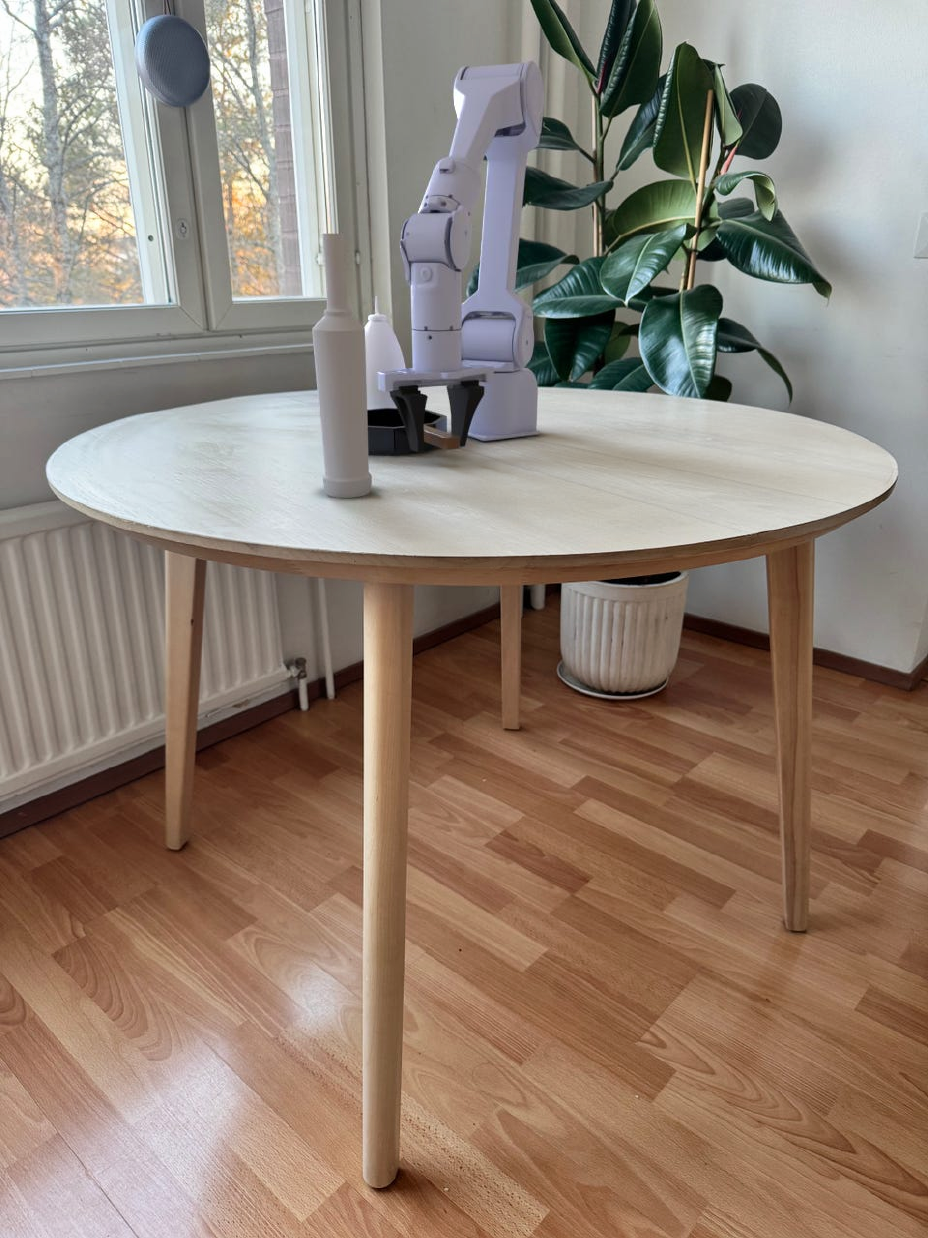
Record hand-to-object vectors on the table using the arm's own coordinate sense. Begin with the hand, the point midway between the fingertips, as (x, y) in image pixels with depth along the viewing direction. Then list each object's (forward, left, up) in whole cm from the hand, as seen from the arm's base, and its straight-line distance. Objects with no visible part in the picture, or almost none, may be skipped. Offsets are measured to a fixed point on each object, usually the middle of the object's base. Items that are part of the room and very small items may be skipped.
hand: (438, 447), depth 100 cm
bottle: (+15, +7, -2) cm, 17 cm away
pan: (0, -8, -2) cm, 8 cm away
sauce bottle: (-5, -26, -2) cm, 27 cm away
